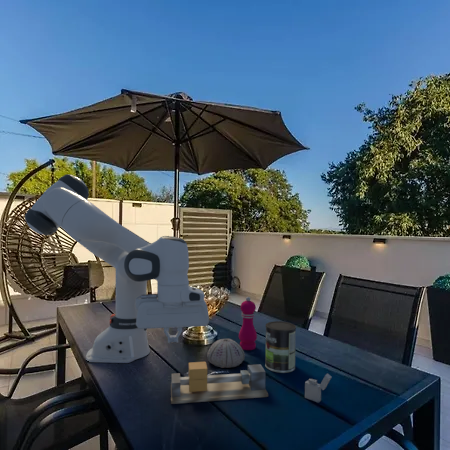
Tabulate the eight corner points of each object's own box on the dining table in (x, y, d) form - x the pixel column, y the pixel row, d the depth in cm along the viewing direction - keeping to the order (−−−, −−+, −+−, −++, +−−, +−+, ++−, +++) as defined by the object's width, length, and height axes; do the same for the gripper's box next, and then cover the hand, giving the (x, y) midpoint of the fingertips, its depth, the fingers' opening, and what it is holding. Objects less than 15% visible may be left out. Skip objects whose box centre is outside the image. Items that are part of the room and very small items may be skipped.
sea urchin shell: (239, 354, 124) (240, 332, 124) (248, 369, 111) (248, 345, 111) (204, 356, 122) (205, 334, 122) (209, 372, 109) (209, 347, 109)
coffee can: (275, 375, 107) (275, 331, 107) (259, 363, 116) (260, 322, 116) (301, 370, 111) (302, 328, 111) (284, 358, 120) (284, 319, 120)
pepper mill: (255, 351, 127) (256, 299, 127) (237, 349, 128) (237, 298, 128) (257, 344, 134) (258, 295, 134) (240, 343, 135) (240, 294, 135)
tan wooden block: (189, 391, 92) (189, 369, 92) (188, 383, 97) (188, 362, 97) (207, 390, 93) (207, 368, 93) (205, 382, 98) (205, 361, 98)
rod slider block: (171, 403, 89) (171, 381, 89) (171, 386, 99) (171, 366, 99) (268, 396, 93) (268, 375, 93) (258, 380, 103) (259, 361, 103)
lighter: (304, 397, 93) (304, 369, 93) (307, 395, 94) (307, 367, 94) (329, 406, 88) (329, 376, 88) (331, 404, 90) (332, 374, 90)
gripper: (134, 297, 89) (133, 348, 89) (209, 294, 92) (209, 344, 92) (136, 292, 95) (136, 340, 95) (207, 290, 98) (207, 337, 98)
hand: (173, 342), depth 94 cm, fingers closed
